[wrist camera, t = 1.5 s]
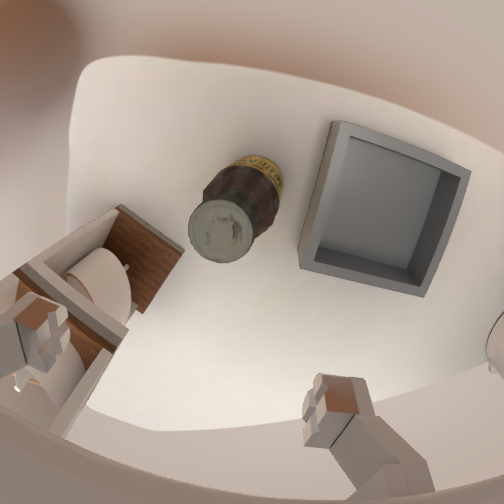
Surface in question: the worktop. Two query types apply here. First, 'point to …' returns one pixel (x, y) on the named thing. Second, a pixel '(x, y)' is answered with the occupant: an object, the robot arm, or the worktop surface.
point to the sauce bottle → (236, 209)
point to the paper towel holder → (85, 309)
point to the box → (380, 211)
